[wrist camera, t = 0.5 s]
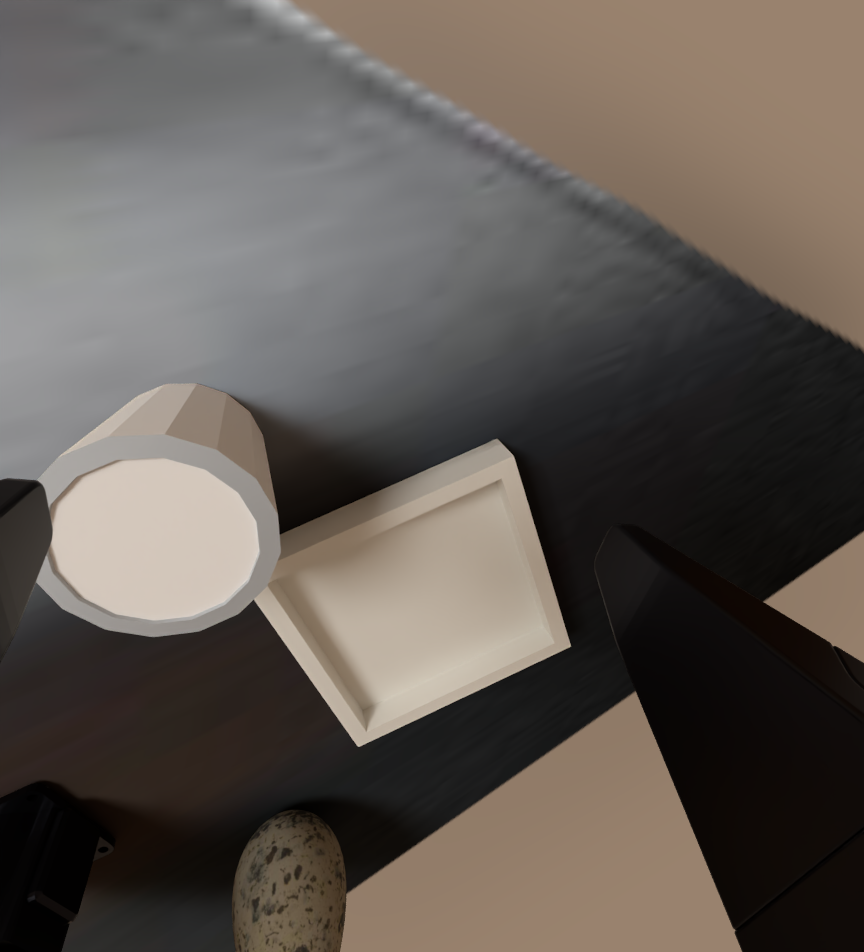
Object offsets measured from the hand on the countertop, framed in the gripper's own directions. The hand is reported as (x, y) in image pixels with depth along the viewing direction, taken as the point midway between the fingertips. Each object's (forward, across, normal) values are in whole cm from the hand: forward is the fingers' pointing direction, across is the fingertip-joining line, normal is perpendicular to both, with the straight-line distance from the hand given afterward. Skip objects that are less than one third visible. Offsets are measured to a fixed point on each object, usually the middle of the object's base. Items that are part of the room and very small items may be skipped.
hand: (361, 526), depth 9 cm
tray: (+12, -6, +14) cm, 19 cm away
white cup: (+13, +5, +7) cm, 15 cm away
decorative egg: (+10, 0, +30) cm, 32 cm away
